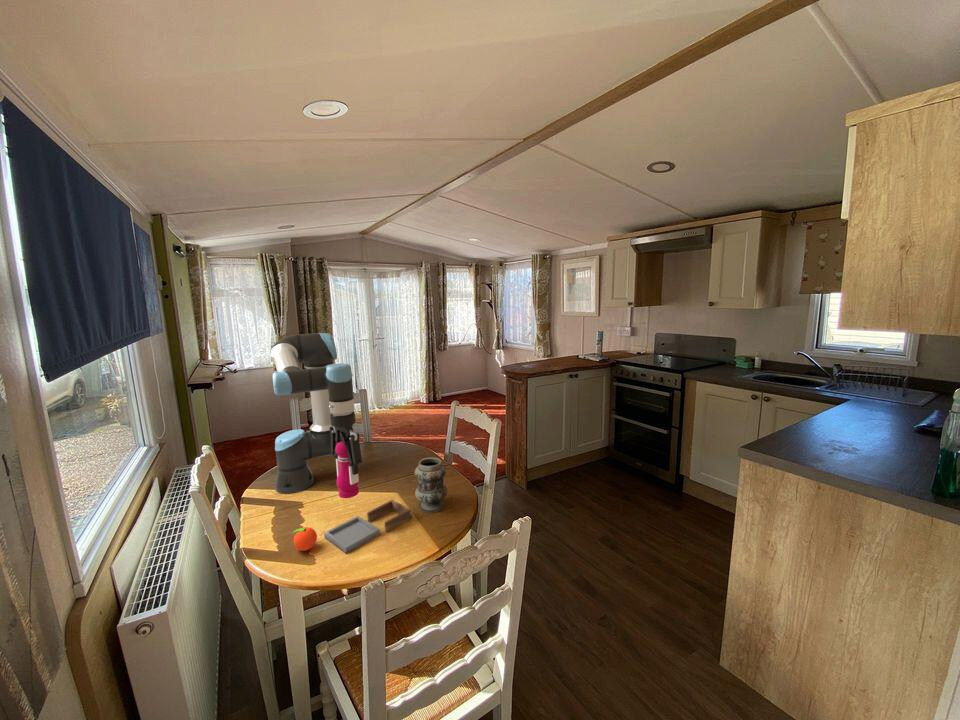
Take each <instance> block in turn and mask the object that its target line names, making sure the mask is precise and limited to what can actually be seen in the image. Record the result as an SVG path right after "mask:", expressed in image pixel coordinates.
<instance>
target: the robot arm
mask: <svg viewBox="0 0 960 720" xmlns="http://www.w3.org/2000/svg"><path fill="white" fill-rule="evenodd" d="M269 355H270V361H271V362H272V363H273V364H274V365H275V369H276V372H275V371H274V372H273V374H272V375H271V376H272V385H273V392H274V394H275V395H276V396H284V395H285V396H289V395H293V394H294V395H296V394H302V393H308V392H309V393H310V402H311V403H310V404H311V413H312V424H311V425H310V426H309V431H307V432H306V431H305V430H304V429H301V428H299V429H292V430H288V431H285V432H283V433H281V434H280V435H278V436H277V437H276V438H275V441H274V446H275V447H274V451H275V457H276V465H277V466H276V467H277V473H276V477H275V478H276V479H275V480H274V481H275V482H274V488H275V491H276V492H277V493H279V494H292V493H293V494H294V493H299V492H301V491H304V490H307V489H308V488H310V487H312V485H313V484H314V482H315V480H314V475H313V473H312V471H311V468H310V466H309V463H308V461H309V460H312V459H317V458H321V457H328V456H333V457H334V459H335V465H336V477H338V474H339V472H340V461H338V456H339V455H338V454H337V453H336V445H337V444H338V443H339V442H340V441H343V445H345V447H346V450H347V454H348V458H349V461H350V464H349V465H348V466H349V476H350V484H351V485H352V484H355V483H357V482H359V483H360V481H359V480H360V476H359V464H361V463H363V461H362V460H363V459H362V451H361V445H360V444H361V443H360V433H359V432H357V433H355V431H354V427H353V425H354V424H355V423H356V413H355V410H356V408H355V407H356V406H355V397H354V387H353V385H354V384H353V370H352V367H351V365H350V364H349V363H343V362H342V363H340V362H339V363H334V361H336V360H337V359H338V352H337V347H336V343H335V341H334V338H333V335H331V334H330V333H328V332H315V333H302V334H291V335H287V336H284V337H282V338H280V339H278V340H277V341H276V342H275V343H274V344H273V345H272V346H271V348H270V351H269ZM300 364H303V367H304V369H303V368H302V367H301V365H300ZM349 440H350V441H349ZM346 441H348V442H346ZM358 476H359V477H358Z"/></svg>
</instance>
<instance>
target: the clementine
mask: <svg viewBox="0 0 960 720" xmlns="http://www.w3.org/2000/svg"><path fill="white" fill-rule="evenodd" d="M293 533H295V534H294V536H293V545H294V547H295V549H297V550H298V551H302V552H303V551H304V552H305V551H309V550H310V549H312V548H313V547H315V545H316V543H317V540H318V534H317V532H316V530H315V529H313V528H312V527H309V526H305V527H301V528H297V529H296V530H295V529H294V531H293V532H292V533H291V537H292V535H293Z"/></svg>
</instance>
